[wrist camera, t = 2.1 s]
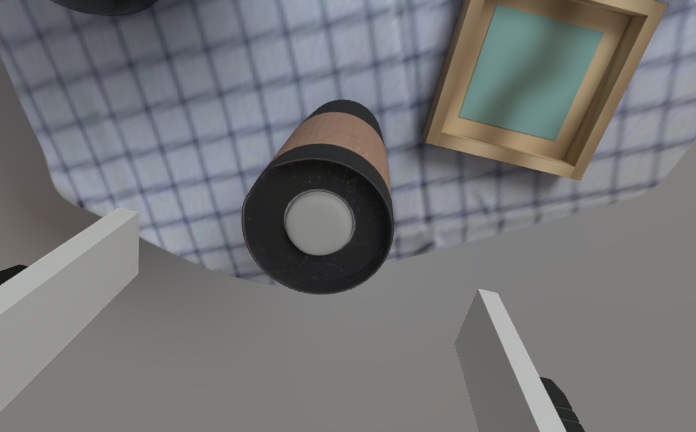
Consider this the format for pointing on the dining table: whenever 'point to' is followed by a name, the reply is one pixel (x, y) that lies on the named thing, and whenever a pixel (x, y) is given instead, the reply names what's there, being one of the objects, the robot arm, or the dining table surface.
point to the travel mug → (323, 203)
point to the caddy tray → (538, 78)
